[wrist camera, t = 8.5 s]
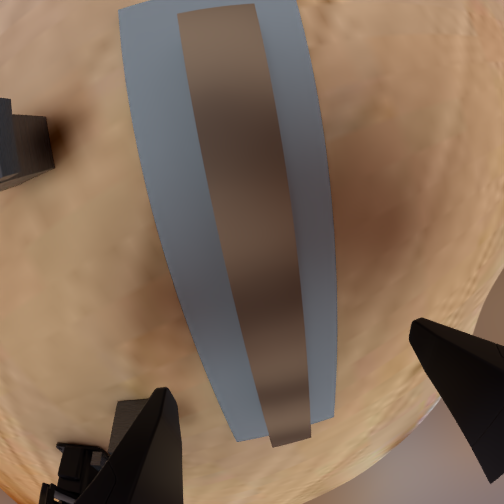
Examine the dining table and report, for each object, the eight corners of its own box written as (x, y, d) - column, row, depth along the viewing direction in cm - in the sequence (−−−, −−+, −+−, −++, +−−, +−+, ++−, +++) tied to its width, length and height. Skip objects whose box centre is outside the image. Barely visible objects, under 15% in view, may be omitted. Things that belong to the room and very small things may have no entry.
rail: (300, 409, 21) (311, 437, 18) (265, 418, 20) (272, 447, 18) (244, 29, 11) (254, 3, 8) (182, 38, 10) (176, 13, 8)
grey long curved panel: (331, 413, 22) (333, 417, 22) (236, 437, 22) (236, 441, 21) (288, -12, 10) (291, -16, 10) (120, 13, 9) (118, 10, 9)
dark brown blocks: (180, 418, 20) (181, 483, 14) (121, 422, 19) (112, 481, 14) (167, 396, 19) (163, 467, 13) (104, 401, 18) (90, 464, 12)
